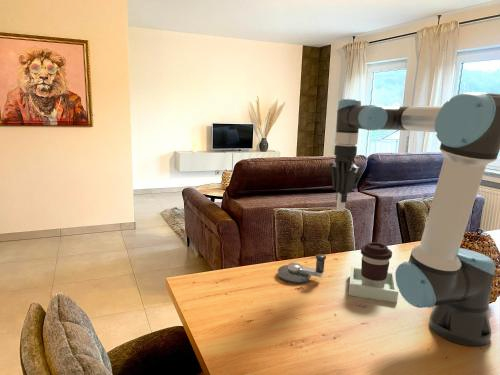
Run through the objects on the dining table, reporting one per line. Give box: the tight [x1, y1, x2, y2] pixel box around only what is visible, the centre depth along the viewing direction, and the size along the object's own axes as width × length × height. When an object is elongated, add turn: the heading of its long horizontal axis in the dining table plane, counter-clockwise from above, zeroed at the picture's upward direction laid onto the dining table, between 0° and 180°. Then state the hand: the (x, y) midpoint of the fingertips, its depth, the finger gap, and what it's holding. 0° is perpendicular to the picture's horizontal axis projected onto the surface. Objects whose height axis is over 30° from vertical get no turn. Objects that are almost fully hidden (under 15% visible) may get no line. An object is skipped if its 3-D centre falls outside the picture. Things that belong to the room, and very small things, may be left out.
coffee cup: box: [360, 241, 393, 288], centre depth 127 cm, size 10×10×15 cm
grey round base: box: [277, 264, 318, 285], centre depth 136 cm, size 12×14×2 cm
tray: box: [348, 266, 399, 304], centre depth 128 cm, size 15×15×4 cm
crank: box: [287, 253, 327, 278], centre depth 133 cm, size 13×5×7 cm, turn 69°
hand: (340, 210), depth 135 cm, fingers closed
